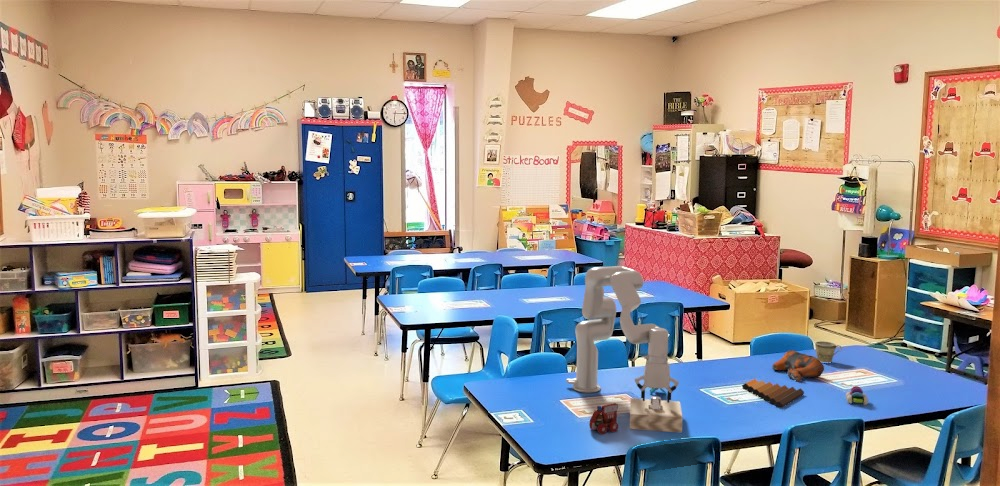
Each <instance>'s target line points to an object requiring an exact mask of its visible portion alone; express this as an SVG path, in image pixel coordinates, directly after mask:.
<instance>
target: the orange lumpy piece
mask: <svg viewBox="0 0 1000 486" xmlns="http://www.w3.org/2000/svg"><path fill="white" fill-rule="evenodd" d="M771 368H772V370H773V371H775V370H779V371H782V370H783V371H784V370H786V371H787V376H788V378H789V379H792V380H793V379H794V380H796V381H795V382H801V381H802V380H803V379H802V378H816V377H818V378H819V377H820V376H821V375H822V374H823V372H824V371H825V366H824V364H823V363H821V362H820V361H819V360H818V359H817V357H816V356H813V355H810V354H809V355H808V354H806V353H801V352H799V351H796V350H788V351H786V352H785V353H784V354H783V356H782V357H781V358H780V359H779V360H777V361H776V362H774V363H772V366H771ZM794 380H793V381H794Z"/></svg>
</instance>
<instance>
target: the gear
mask: <svg viewBox="0 0 1000 486" xmlns="http://www.w3.org/2000/svg"><path fill="white" fill-rule="evenodd" d="M658 390H660V391H661V392H662V393H663V394H664V395H666V396H667V392H666V391H665V389H659V388H650V389H649V391H650V392H649V394H650V395H653V394H654V393H655V392H656V391H658Z"/></svg>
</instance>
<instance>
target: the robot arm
mask: <svg viewBox="0 0 1000 486" xmlns="http://www.w3.org/2000/svg"><path fill="white" fill-rule="evenodd" d="M584 276H585V277H584V284H585V285H584V286H585V289H584V293H583V294H584V295H583V302H582V307H581V315H582V316H583V318H584V319H587V320H584V321H580V322H578V323H577V324H576V326H575V331H574V332H575V338H576V340H575V341H576V373H575V375H576V376H575V377H574V378H566V383H567V384H569V385H572V389H573V390H574V391H576V392H578V393H579V392H580V393H584V394H585V393H586V394H587V393H596V392H600V391H601V386H600V385H599V384H598V368H599V367H598V366H599V350H598V348H597V346H596V344H595V342H599V341H606V340H608V339H609V340H610V338H611V337H612V336H613V332H614V326H615V322H616V316H617V305H616V302H615V300H614V299H613V298H612V297H608V296H605V289H604V287H611V288H612V290H613V292H614V294H615V296H616V298H617V300H618V302H619V304H620V306H621V312H620V317H619V323H620V328H621V330H622V333H623V334H624V336H625V339H626V340H627V341H628V342H629V343H631V344H633V345H639V344H648V348H647V349H648V350H647V352H648V353H647V355H643V357H644V360H646V361H645V365H644V371H643V375H640V376H638V377H635V378H634V382H635V384H636V386H637V387H638V389H639V390H640V391H641V393H640V395H641V396H640V399H643V401H645V399H646V389H647V388H648V389H652V388H659V389H658V390H660V389H663V390H665V389H666V390H667V392H666V393H667V394H666V401H667V402H668V403H669V401H672V393H673V392H674V391H675V390H677V387H678V386H679V384H680V383H679V382H680V381H679V380H677V379H675V378H673V377H671V370H670V363H669V362H668V349H669V348H668V346H669V332H668V331H669V330H668V329H666V328H663V327H660V326H659V325H656V324H655V323H644V324H636V325H635V323H634V321H633V319H632V317H631V313H632V312H633V311H634V310H636V309H637V308H638V307H640V305H641V304H642V298H641V297H640V295H639V293H638V290H640V289H642V288H643V286H644V278H643V276H642V274H641V273H640V272H639V271H637V270H635V269H633V268H628V267H626V266H622V265H615V266H598V267H597V266H596V267H591V268H589V269H588V270H587V271H586V273H585V275H584ZM642 380H643V383H640V381H642ZM671 382H672V383H674V384H673V385H672V386H670V385H671Z"/></svg>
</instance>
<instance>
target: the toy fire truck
mask: <svg viewBox="0 0 1000 486" xmlns="http://www.w3.org/2000/svg"><path fill="white" fill-rule="evenodd" d="M618 410H619V404H618V403H616V402H614V403H613V402H612V403H609V404H603V405H602V406H601V405H597V406H596V409H595V410H594V411H593V413H592V415H591V417H590V419H589V423H588V424H589V429H590V430H592V431H595V430H597V433H599V434H600V435H605V434H606V433H607V432H608V431H609V432H612V433H615V432H617V431H618V429H619V424H618V421H617V420H618V419H617V418H618Z"/></svg>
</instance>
